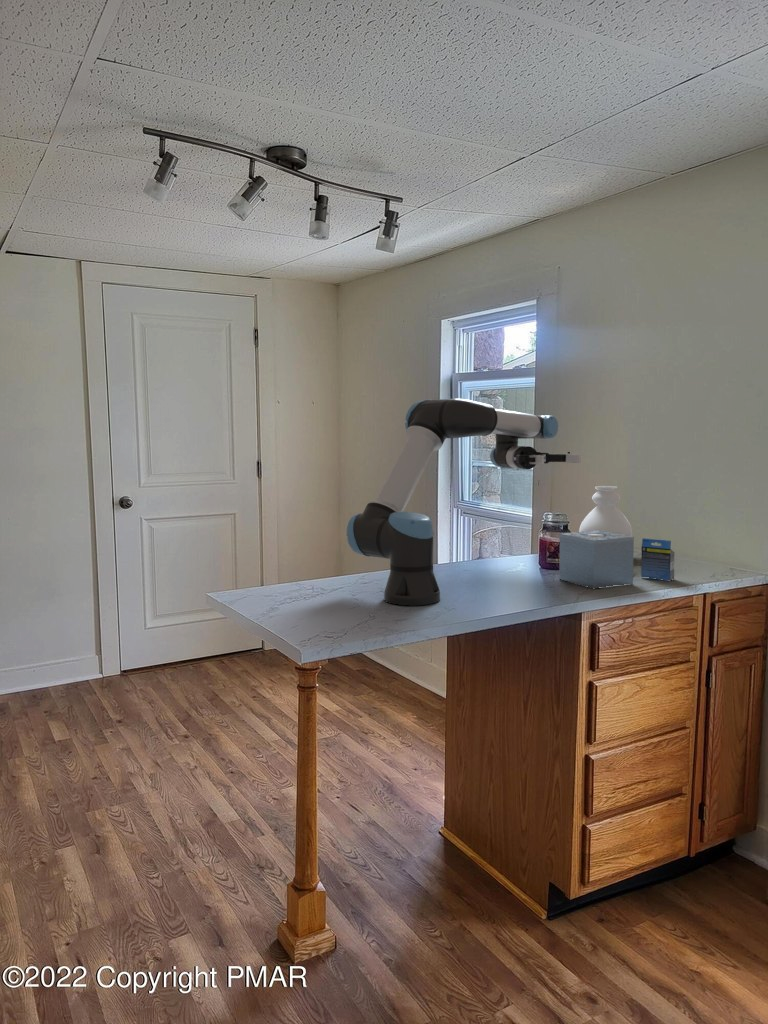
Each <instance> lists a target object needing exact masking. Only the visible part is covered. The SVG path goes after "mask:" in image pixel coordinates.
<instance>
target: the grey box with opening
mask: <svg viewBox="0 0 768 1024" xmlns="http://www.w3.org/2000/svg"><path fill="white" fill-rule="evenodd" d="M588 534H603V535H604V537H595V538H594V537H589V536H588ZM634 540H635V537H634V536H633V535H632V536H626V535H621V534H615V533H609V532H604V531H598V530H596V531H585V532H579V531H576V532H575V531H574V532H564V533H563V532H562V533H559V559H558V561H559V564H558V565H559V573H558V575H559V576H558V577H559V578H558V579H559V580H560V579H561V580H560V581H563V580H564V582H566V581H568V582H567V583H570V582H572V583H571V584H573V583H576V584H575V585H577V584H580V585H583V586H582V587H584V586H588V587H591V588H599V587H606V586H613V585H624V584H633V585H634V549H635V548H634V542H635V541H634ZM580 585H579V586H580Z"/></svg>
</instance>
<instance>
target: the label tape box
mask: <svg viewBox="0 0 768 1024" xmlns="http://www.w3.org/2000/svg"><path fill="white" fill-rule="evenodd" d="M641 540H642V541H641V564H640V565H641V566H640V567H641V568H640V569H641V571H640V573H641V574H640V576H641V577H649V578H656V579H663V580H670V581H669V582H672V581H673V580H672V579H674V580H675V551H673V550H672V549H671V546H672V541H671V540H665V539H656V538H655V539H654V538H645V537H644V538H643V537H642V538H641ZM656 544H660V545H656ZM663 580H662V581H663ZM671 580H672V581H671Z"/></svg>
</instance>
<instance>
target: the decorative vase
mask: <svg viewBox="0 0 768 1024" xmlns="http://www.w3.org/2000/svg"><path fill="white" fill-rule="evenodd" d="M594 489H595V490H597V491H596V492H595V493H594V494H593V495H592V497H591V499H592V502H593V503H594V504H595V505H596V506H595V507H593V509H591V510H590V511H589V512H588V514H587V515H586V516H585V517H584V518H583V520H582V521H581V523H580V526H579V530H578V532H585V531H596V530H598V531H604V532H609V533H615V534H621V535H626V536H632V537H633V527H632V525H631V522H630V521H629V520H628V518H627V517H626V516H625V514H624V513H623V512H622V511H621V510H620V509H619V508H618V507H617V506H616V505H617V504H618V503H619V502H620V501H621V495H620V494H619V493H618V492H616V491H615V490H617V489H618V486H616V485H596V486H595V487H594Z"/></svg>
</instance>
